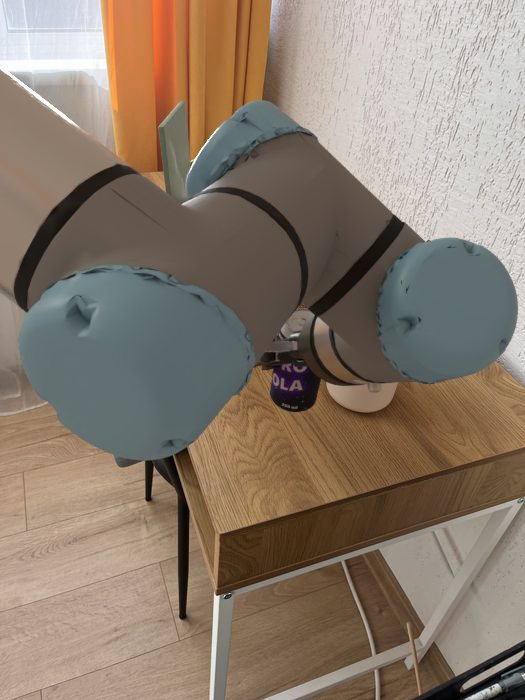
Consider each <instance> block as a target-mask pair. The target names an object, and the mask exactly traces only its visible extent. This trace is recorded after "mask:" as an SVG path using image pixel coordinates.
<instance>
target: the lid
mask: <svg viewBox="0 0 525 700" xmlns="http://www.w3.org/2000/svg"><path fill="white" fill-rule="evenodd" d="M188 126H189V125H188V115H187V103H186V100H180V101H179V102H178V103H177V105H176V106H175V107H174V108H173V109H172V111H171V112H170V113H169V114H168V115H167V116H166V118H164V119H163V121H162V122H161V123H160V124H159V126H158V127H157V128H158V136H159V146H160V154H161V163H162V171H163V179H164V180H163V181H164V188H165V192H166V193H167V194H169V195H170V196H171V197H172V198H174V199H175V200H176V201H178V202H179V203H180V204H183V203H184V202H185V201H186V200H188V197H187V195H186V192H185V183H186V179H187V175H188V173H189V170H190V168H191V163H190V161H191V152H190V140H189V139H190V138H189V127H188Z"/></svg>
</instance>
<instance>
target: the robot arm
mask: <svg viewBox="0 0 525 700" xmlns="http://www.w3.org/2000/svg"><path fill="white" fill-rule="evenodd" d="M194 159H195V161H194V163H193V164H192V166H191V168H190V170H189V173H188V175H187V179H186V183H185V192H186V195H187V197H188V200H186V201H185V202H184V203H183V204H180V203H179V202H178V201H176V200H175V199H174V198H172V197H171V196H170V195H169V194H167V193H166V190H164V189H162V188H161V187H160V186H158V185H157V184H156V183H155V182H153V181H152V180H150V179H149V178H148V177H146V176H144V175H143V174H142V173H141V172H139V171H138V170H136V169H135V168H134V167H133V166H131V165H130V164H129V163H127V162H126V161H124V160H123V159H122V158H121V157H120V156H118V155H117V154H115V153H114V152H113V151H112V150H110V149H109V148H108V147H107V146H105V145H104V144H102V143H101V142H100V141H99V140H97V139H96V138H95V137H93V136H92V135H91V134H90V133H88V132H87V131H86V130H84V129H83V128H82V127H80V126H79V125H78V124H76V123H75V122H74V121H72V120H71V119H70V118H69V117H67V116H66V115H65V114H64V113H63V112H61V111H60V110H59V109H57V108H56V107H55V106H53V104H50V103H49V102H48V101H47V100H46V99H44V98H42V96H41V95H39V94H38V93H36V92H35V91H33V90H32V89H31V88H30V87H28V86H27V85H26V84H25V83H23V82H22V81H21V80H20V79H18V78H17V77H15V76H14V75H13V74H12V73H10V72H9V71H8V70H6V69H5V68H4V67H2V66H1V65H0V294H1V295H2V296H4V297H5V298H6V299H8V301H10V302H11V303H13V304H14V305H15V306H17V307H18V308H20V309H21V310H22V311H24V313H25V316H24V318H23V321H22V323H21V326H20V329H19V330H20V331H19V334H18V352H19V358H20V362H21V366H22V368H23V371H24V373H25V375H26V377H27V380H28V382H29V384H30V386H31V388H32V389H33V390H34V392H35V393H36V395H37V396H38V397H39V398H40V399H42V400H43V401H45V402H47V403H48V404H50V406H52V408H53V409H54V411H55V412H56V417H57V421H59V422H60V423H61V425H63V426H64V427H65V428H66V429H68V431H70V432H71V433H73V435H75V436H76V437H78V438H80V439H81V440H82V441H84V442H85V443H87V444H89V445H91V446H92V447H94V448H97V449H98V450H101V451H103V452H105V453H107V454H110V455H113V456H116V457H119V458H123V459H126V460H131V461H133V460H134V461H155V460H161V459H165V458H166V459H167V458H169V457H171V456H175V455H177V453H180V452H181V451H183V450H185V449H186V448H187V447H189V446H190V445H192V444H193V443H195V442H196V441H198V439H199V438H200V436H201V435H202V434H203V433H204V432H205V430H206V429H207V428H208V427H209V425H210V424H211V423H212V422H213V421H214V420H215V418H216V417H217V416H218V415H219V414H220V412H221V411H222V410H223V409H224V408H225V407H226V405H227V404H228V403H229V402H230V400H231V399H232V398H233V397H235V396H238V395H239V394H240V393H241V392H242V391H243V390H244V389H245V387H246V386H247V384H248V383H249V382H250V380H251V379H252V374H253V371H254V369H255V368H257V367H261V371H271V370H273V369H274V368H279V365H284V364H292V363H293V365H294V366H295V367H309V368H310V369H311V370H312V371H313V373H314V374H315V375H317V376H318V377H319V378H320V379H321V381H323V382H325V383H326V382H328V383H330V384H333V385H338V386H357V385H364V384H367V385H368V389H369V392H373V393H378V392H380V390H381V383H395V382H398V383H418V384H423V385H435V384H440V383H443V382H445V381H450V380H457V379H462V378H465V377H468V376H471V375H475V374H477V373H479V372H481V371H482V370H485V369H486V368H489V366H492V364H493V363H495V362H496V361H497V360H498V359H499V358H500V357H501V356H502V355H503V354H504V353H505V352H506V350H507V348H508V347H509V345H510V343H511V341H512V339H513V336H514V334H515V331H516V328H517V324H518V317H519V299H518V295H517V290H516V286H515V284H514V281H513V279H512V277H511V275H510V272H509V270H508V269H507V268H506V266H505V265H504V264H503V262H502V261H501V259H499V257H498V256H497V255H495V254H494V253H493V252H492V251H491V250H489V249H488V248H487V247H485V246H484V245H481V244H477V243H475V242H472V241H470V240H467V239H464V238H463V239H462V238H459V237H440V238H434V239H432V240H430V239H428V240H425V239H424V238H422V236H421V235H420V234H418V233H417V232H416V231H415V230H414V228H412V227H411V226H410V225H409V224H408V223H406V221H402V219H400V217H398V216H397V215H396V214H394V213H393V212H392V211H391V210H390V209H389V208H388V207H387V206H386V205H385V204H384V203H383V202H382V201H381V200H380V199H379V198H377V196H376V195H375V194H374V193H373V192H371V191H370V190H369V189H368V188H367V187H366V185H364V184H363V183H362V182H361V181H360V180H359V179H358V178H357V177H356V176H355V175H353V173H352V172H351V171H350V170H349V169H348V168H346V167H345V165H343V164H342V163H341V162H340V161H339V160H338V159H337V158H336V157H335V156H334V155H333V154H332V153H330V151H329V150H328V149H327V148H326V147H325V146H324V145H323V144H321V142H320V141H319V139H318V137H317V136H316V134H314V133H313V131H311V130H310V129H309V128H307V127H303V126H301V125H300V123H298V122H297V121H296V120H294V119H293V118H292V117H290V115H288V114H287V113H286V112H285V111H284V110H282V109H280V107H278V106H277V105H276V104H274V103H272V102H271V101H268V100H264V99H257V100H253V101H250V102H247V103H245V104H243V105H242V106H240V107H239V108H237V110H236V111H235V112H234V113H233V114H232V115H231V117H230V118H229V119H228V120H224V121H223V122H222V123H221V124H220V125H219V126H218V127H217V128H216V130H215V131H214V132H213V133H212V135H211V136H210V137H209V139H207V141H206V142H205V144H204V145H203V146H202V148H201V149H200V151H199V153H197V156H196V157H195V158H194ZM301 304H302V305H303V306H305V308H308V310H310V311H311V314H310V315H309V316H308V318H307V320H306V321H305V323H304V325H303V328H302V330H299V331H294V332H293V333H292V335H290V336H289V338H286V339H282V340H279V335H278V333H279V331H280V330H281V328H282V327H283V326H284V324H285V323H286V321H287V320H288V318H289V317H290V316H291V315H292V314H293V313H294V311H295V310H296V309H298V308H300V305H301Z"/></svg>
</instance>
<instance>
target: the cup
mask: <svg viewBox="0 0 525 700" xmlns="http://www.w3.org/2000/svg"><path fill="white" fill-rule="evenodd" d="M325 385H326V390H327V392H328V393H329V396H331V398H332V399H333V400H334V401H335V402H336V403H337V404H339V405H340V406H342V407H343V408H345V409H347V410H350V411H352V412H358V413H374V412H379V411H381V410H383V409H384V408H386V407H388V406H389V404H391V402H392V401H393V398H394V396H395V393H396V390H397V387H398V385H399V382H395V383H381V390H380V392H378V393H373V392H369V389H368V385H367V384H364V385H357V386H338V385H333V384H330V383H328V382H325Z"/></svg>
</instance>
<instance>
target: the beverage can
mask: <svg viewBox="0 0 525 700" xmlns="http://www.w3.org/2000/svg"><path fill="white" fill-rule="evenodd" d="M310 314H311V311H310V310H308V308H307V307H298V308H297V309H296V310H295V311H294V313H293V314H292V315H291V316H290V317H289V318H288V320H287V321H286V323H285V324H284V326H283V327H282V328H281V330H280V331H279V333H278V334H277V335H279V340H282V339H286V338H289V336H290V335H292V333H293V332H294V331H299V330H302V328H303V325H304V323H305V321H306V320H307V318H308V316H309V315H310ZM321 381H322V379H320V378H319V377H318V376H317V375H315V374H314V373H313V371H312V370H311V369H310V368H309V367H295V366H294V365H293V363H292V364H284V365H279V368H274V369H272V375H271V382H270V388H269V397H270V400H271V401H272V402H273V403H274V405H275V406H277V407H278V408H280V409H281V410H283V411H284V412H288V413H293V414H297V413H301V412H305V411H308V410H310V409H311V408H313V407H314V405H316V403H317V399H318V394H319V390H320V386H321Z"/></svg>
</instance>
